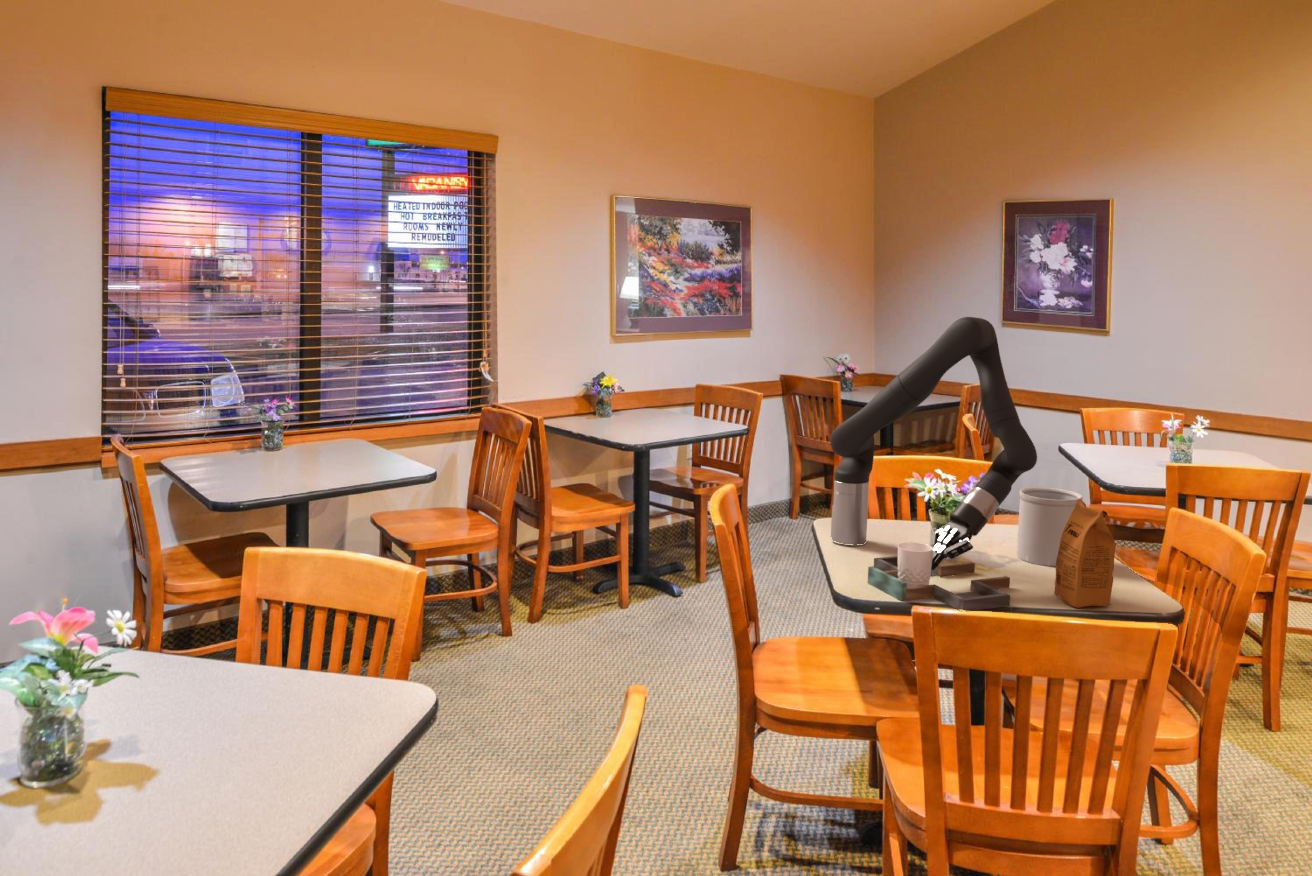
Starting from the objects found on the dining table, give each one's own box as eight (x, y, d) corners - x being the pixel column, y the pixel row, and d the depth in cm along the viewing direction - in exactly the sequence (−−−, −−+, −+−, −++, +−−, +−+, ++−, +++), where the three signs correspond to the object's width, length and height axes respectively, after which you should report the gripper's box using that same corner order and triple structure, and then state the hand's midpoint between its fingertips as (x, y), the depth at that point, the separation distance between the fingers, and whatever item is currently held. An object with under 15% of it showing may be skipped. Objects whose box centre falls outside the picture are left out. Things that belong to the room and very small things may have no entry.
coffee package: (1090, 592, 210) (1099, 498, 206) (1116, 610, 197) (1125, 511, 194) (1047, 591, 210) (1054, 497, 206) (1069, 609, 198) (1077, 510, 194)
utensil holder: (1087, 568, 229) (1093, 499, 226) (1027, 567, 229) (1032, 498, 226) (1062, 551, 243) (1067, 487, 241) (1006, 551, 244) (1010, 486, 241)
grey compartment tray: (844, 571, 224) (845, 555, 223) (944, 560, 234) (945, 545, 233) (929, 616, 192) (930, 597, 192) (1041, 601, 202) (1042, 584, 202)
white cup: (904, 595, 206) (907, 552, 204) (889, 584, 214) (891, 543, 212) (937, 593, 207) (939, 550, 206) (921, 583, 215) (923, 541, 213)
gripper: (947, 495, 218) (902, 549, 216) (985, 506, 206) (937, 564, 204) (964, 515, 221) (919, 569, 219) (1002, 527, 209) (956, 585, 206)
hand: (928, 567), depth 211 cm, fingers closed
